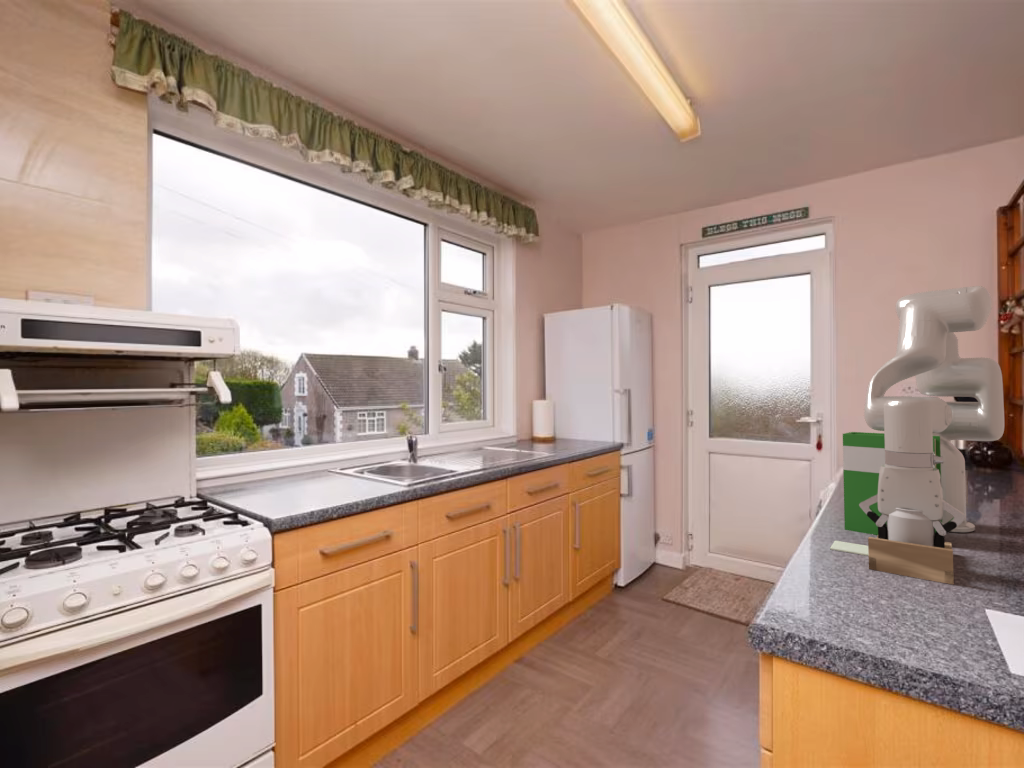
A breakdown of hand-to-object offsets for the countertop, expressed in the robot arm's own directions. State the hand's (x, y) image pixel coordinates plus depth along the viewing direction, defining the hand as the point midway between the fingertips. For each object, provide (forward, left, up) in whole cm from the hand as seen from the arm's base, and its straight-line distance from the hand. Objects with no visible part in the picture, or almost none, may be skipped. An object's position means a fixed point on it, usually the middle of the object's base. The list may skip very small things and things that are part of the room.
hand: (910, 549), depth 98 cm
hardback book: (-25, -4, -4) cm, 26 cm away
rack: (-4, 0, -3) cm, 5 cm away
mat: (-6, -10, -3) cm, 13 cm away
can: (0, 0, -4) cm, 4 cm away
